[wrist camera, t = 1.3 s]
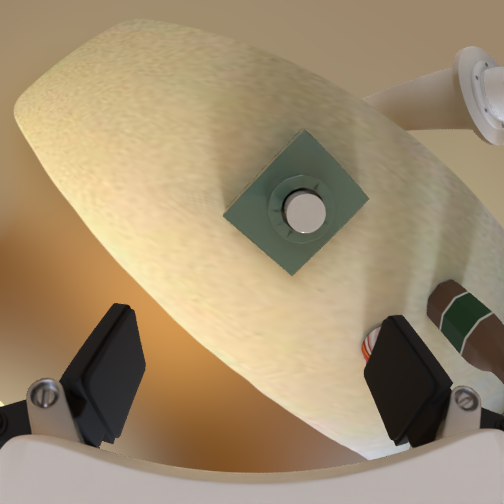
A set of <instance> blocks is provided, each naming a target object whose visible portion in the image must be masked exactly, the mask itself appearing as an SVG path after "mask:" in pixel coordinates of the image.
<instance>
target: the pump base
mask: <svg viewBox="0 0 504 504" xmlns="http://www.w3.org/2000/svg"><path fill="white" fill-rule="evenodd" d="M297 191H308V192H311V193H312V194H314V195H315V196H317V197H318V198H320V199H321V201H322V202H323V203H324V206H325V209H326V217H325V220H324V222H323V224H322V225H321V226H320V228H318V229H317V230H315V231H313V232H310V233H301V232H298V231H296V230H294V229H293V228H292V227H291V226H290V224H289V223H288V221H287V219H286V217H285V215H284V205H285V202H286V200H287V198H288V197H289V196H290V195H291V194H293V193H295V192H297ZM368 200H369V198H368V197H367V196H366V194H365V193H364V192H363V191H362V190H361V188H360V187H359V186H358V185H357V184H356V183H355V182H354V180H353V179H352V178H351V177H350V176H349V175H348V174H347V173H346V171H345V170H344V169H343V168H342V167H341V166H340V165H339V164H338V163H337V162H336V161H335V159H334V158H333V157H332V156H331V155H330V154H329V153H328V152H327V151H326V150H325V149H324V148H323V147H322V146H321V145H320V144H319V143H318V142H317V141H316V140H315V139H314V138H313V137H312V136H311V135H310V134H309V133H308V132H307V131H306V130H302V131H300V132H298V133H297V134H296V135H295V136H294V137H293V138H292V139H291V140H290V141H289V142H288V143H287V144H286V145H285V146H284V148H283V149H282V150H281V151H280V152H279V153H278V154H277V155H276V156H275V157H274V158H273V159H272V160H271V161H270V162H269V163H268V164H267V165H266V166H265V167H264V168H263V169H262V170H261V171H260V172H259V173H258V175H257V176H256V177H255V178H254V179H253V180H252V181H251V182H250V183H249V184H248V185H247V186H246V187H245V188H244V189H243V191H242V192H241V193H240V194H239V195H238V196H237V197H236V198H235V199H234V200H233V201H232V203H231V204H230V205H229V206H228V207H227V208H226V209H225V211H224V214H223V217H224V218H226V219H227V220H228V221H229V222H230V223H231V224H233V225H234V226H235V227H236V228H237V229H238V230H240V231H241V232H242V233H243V234H244V235H245V236H246V237H248V238H249V239H250V240H251V241H252V242H253V243H255V244H256V245H257V246H258V247H259V248H260V249H261V250H263V251H264V252H265V253H266V254H267V255H268V256H270V257H271V258H272V259H273V260H274V261H275V262H276V263H278V264H279V265H280V266H281V267H282V268H283V269H284V270H286V271H287V272H288V273H289V274H290V275H291V276H293V275H294V274H295V273H296V272H297V271H298V270H299V269H300V268H301V267H302V266H303V265H304V264H305V263H306V262H307V261H308V260H309V259H310V258H311V257H312V256H313V255H314V254H315V253H316V252H318V251H319V250H320V249H321V248H322V247H323V246H324V245H325V244H326V243H327V242H328V241H329V240H330V239H331V238H332V237H333V236H334V235H335V234H336V233H337V232H338V231H339V230H340V229H341V228H342V227H343V226H344V225H345V224H346V223H347V222H348V221H349V219H350V218H351V217H352V216H353V215H354V214H355V213H356V212H357V211H358V210H359V209H360V208H361V207H362V206H363V205H364V204H365V203H366V202H367V201H368Z"/></svg>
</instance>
